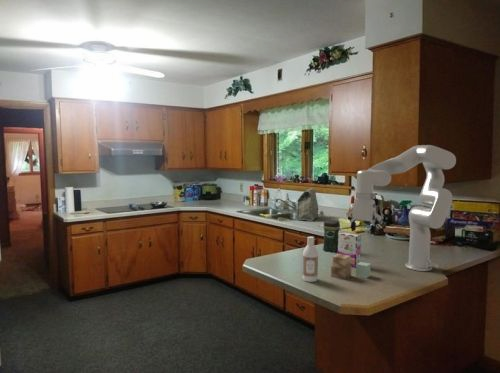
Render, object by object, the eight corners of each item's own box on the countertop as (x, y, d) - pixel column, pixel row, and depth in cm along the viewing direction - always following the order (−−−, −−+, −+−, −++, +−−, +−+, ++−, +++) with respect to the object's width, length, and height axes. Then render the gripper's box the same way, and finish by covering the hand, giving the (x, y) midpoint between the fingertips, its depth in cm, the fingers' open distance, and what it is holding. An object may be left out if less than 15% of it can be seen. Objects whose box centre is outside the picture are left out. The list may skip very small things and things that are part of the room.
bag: (301, 216, 342) (302, 187, 340) (319, 217, 336) (319, 188, 334) (295, 220, 321) (295, 189, 319) (313, 222, 315) (314, 190, 313)
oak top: (350, 266, 175) (350, 255, 175) (344, 269, 171) (344, 258, 170) (338, 263, 179) (338, 253, 179) (332, 266, 175) (332, 256, 174)
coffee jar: (340, 249, 224) (341, 219, 222) (337, 253, 217) (338, 221, 215) (324, 248, 228) (325, 218, 226) (321, 251, 221) (322, 220, 219)
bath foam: (302, 281, 167) (302, 238, 166) (302, 276, 174) (303, 235, 172) (317, 282, 166) (318, 239, 164) (317, 277, 173) (318, 235, 171)
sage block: (370, 275, 176) (370, 263, 176) (366, 278, 172) (366, 266, 172) (360, 273, 179) (360, 261, 179) (355, 276, 176) (356, 264, 175)
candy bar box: (360, 265, 192) (361, 234, 190) (355, 267, 188) (356, 236, 187) (341, 261, 200) (342, 231, 198) (336, 263, 196) (337, 232, 195)
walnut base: (351, 276, 176) (351, 266, 176) (344, 280, 171) (345, 269, 170) (337, 273, 180) (337, 263, 180) (331, 276, 175) (331, 266, 175)
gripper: (385, 197, 171) (383, 233, 173) (351, 194, 183) (349, 228, 184) (379, 198, 166) (377, 236, 167) (343, 195, 177) (342, 230, 179)
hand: (362, 232), depth 176 cm, fingers open, 9 cm apart
